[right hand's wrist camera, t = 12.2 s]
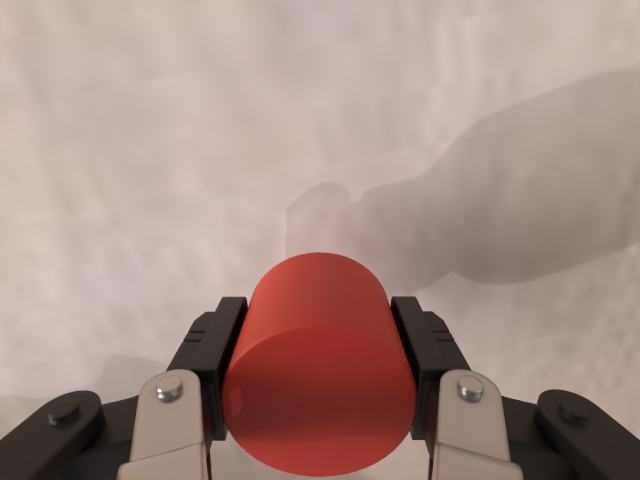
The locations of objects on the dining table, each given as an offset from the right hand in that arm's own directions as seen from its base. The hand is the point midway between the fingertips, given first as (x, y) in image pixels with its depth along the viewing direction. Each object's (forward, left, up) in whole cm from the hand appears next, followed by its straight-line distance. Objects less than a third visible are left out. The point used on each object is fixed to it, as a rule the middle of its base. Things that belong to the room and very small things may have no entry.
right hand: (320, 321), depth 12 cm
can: (0, 0, -1) cm, 1 cm away
